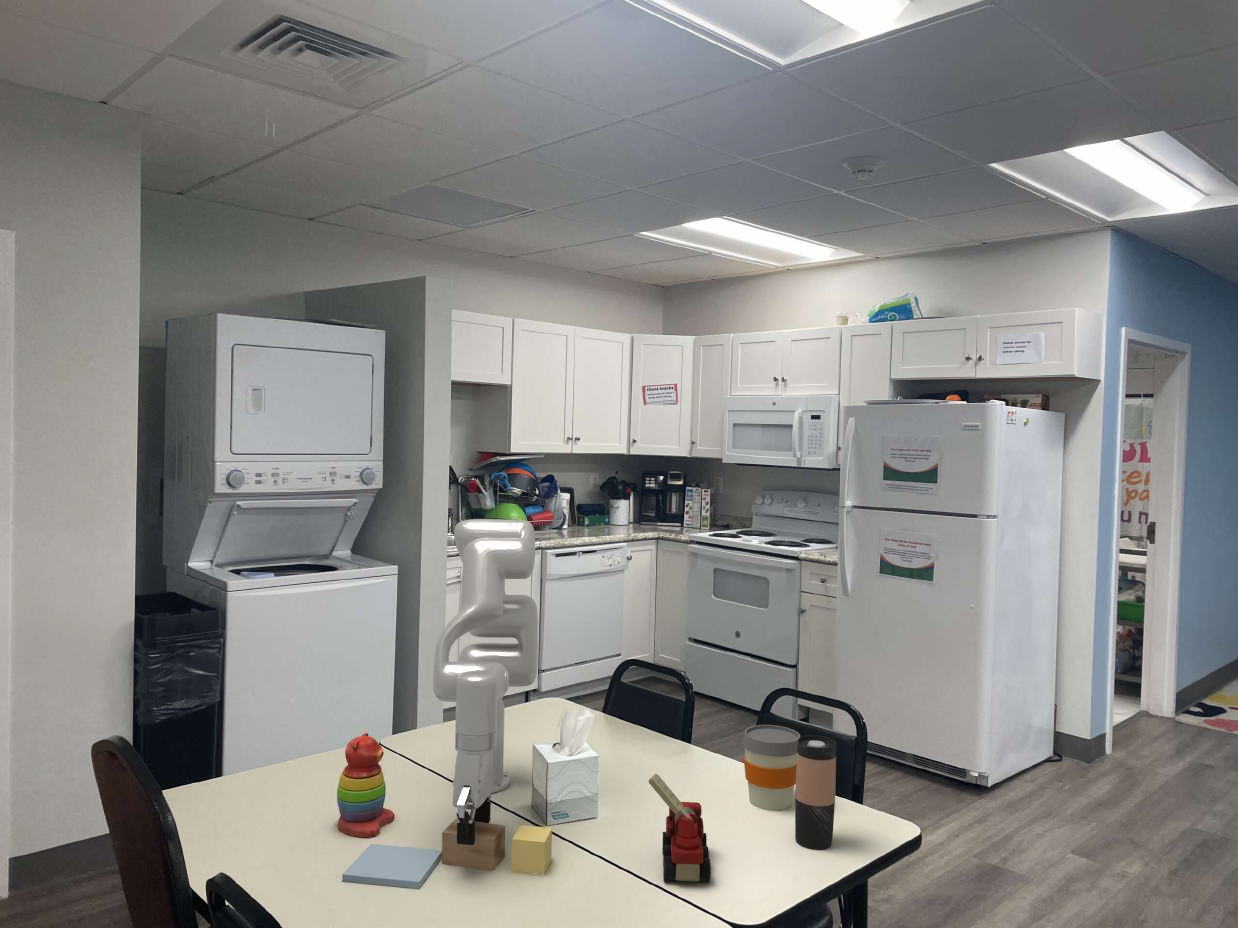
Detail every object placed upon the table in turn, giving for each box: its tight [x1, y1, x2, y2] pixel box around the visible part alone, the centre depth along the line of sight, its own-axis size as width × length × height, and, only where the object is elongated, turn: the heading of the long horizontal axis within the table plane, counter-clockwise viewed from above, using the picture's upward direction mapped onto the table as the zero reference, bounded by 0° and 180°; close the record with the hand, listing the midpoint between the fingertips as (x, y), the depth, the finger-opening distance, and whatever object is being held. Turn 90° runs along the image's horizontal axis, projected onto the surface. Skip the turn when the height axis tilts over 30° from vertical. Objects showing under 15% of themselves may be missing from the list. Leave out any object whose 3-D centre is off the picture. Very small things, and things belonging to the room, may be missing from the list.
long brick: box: [441, 818, 507, 872], centre depth 167 cm, size 6×10×6 cm, turn 77°
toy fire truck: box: [648, 773, 712, 883], centre depth 167 cm, size 11×16×18 cm
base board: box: [341, 843, 442, 890], centre depth 163 cm, size 12×14×1 cm
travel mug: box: [794, 734, 837, 851], centre depth 178 cm, size 8×8×20 cm
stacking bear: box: [336, 732, 396, 839], centre depth 180 cm, size 11×10×18 cm
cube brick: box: [511, 824, 553, 875], centre depth 166 cm, size 6×6×6 cm
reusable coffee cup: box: [742, 724, 801, 811], centre depth 197 cm, size 13×13×15 cm
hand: (474, 832), depth 166 cm, fingers open, 9 cm apart
